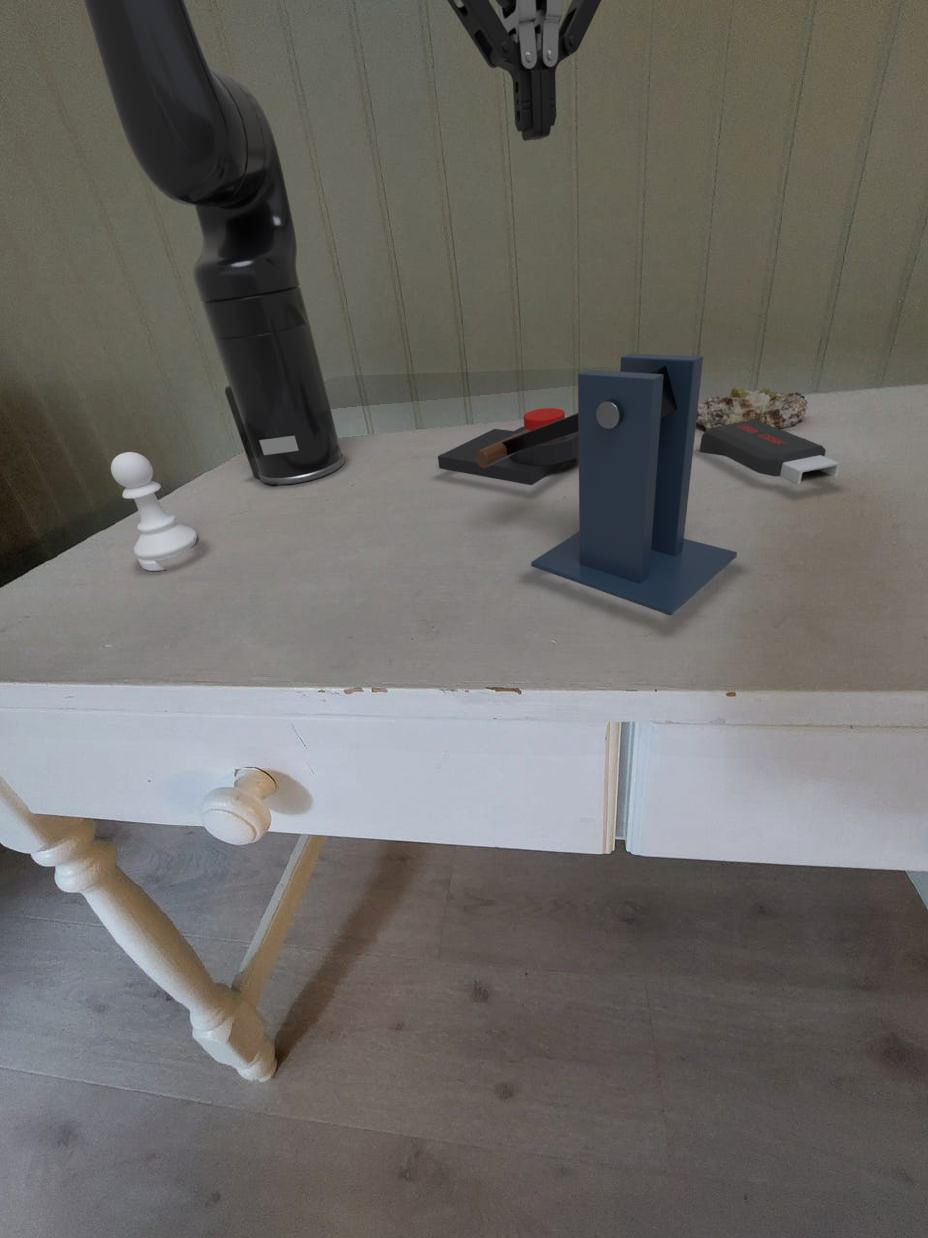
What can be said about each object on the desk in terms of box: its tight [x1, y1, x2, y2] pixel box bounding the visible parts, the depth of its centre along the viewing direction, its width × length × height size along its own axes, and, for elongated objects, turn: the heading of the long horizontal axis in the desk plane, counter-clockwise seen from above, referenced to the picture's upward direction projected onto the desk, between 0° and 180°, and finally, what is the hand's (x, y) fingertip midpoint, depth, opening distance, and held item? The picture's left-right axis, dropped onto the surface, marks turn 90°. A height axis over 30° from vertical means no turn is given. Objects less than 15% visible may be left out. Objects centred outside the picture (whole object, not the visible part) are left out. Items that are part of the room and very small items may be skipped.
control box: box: [437, 426, 579, 486], centre depth 54 cm, size 13×9×4 cm
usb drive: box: [699, 420, 841, 485], centre depth 48 cm, size 5×12×3 cm, turn 11°
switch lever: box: [475, 365, 677, 468], centre depth 35 cm, size 13×5×2 cm, turn 45°
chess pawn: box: [110, 451, 198, 572], centre depth 46 cm, size 5×5×9 cm
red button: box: [523, 407, 566, 431], centre depth 50 cm, size 4×4×2 cm
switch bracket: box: [530, 353, 738, 616], centre depth 33 cm, size 10×8×13 cm
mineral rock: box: [696, 385, 808, 432], centre depth 57 cm, size 11×4×8 cm
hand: (535, 137), depth 44 cm, fingers closed
